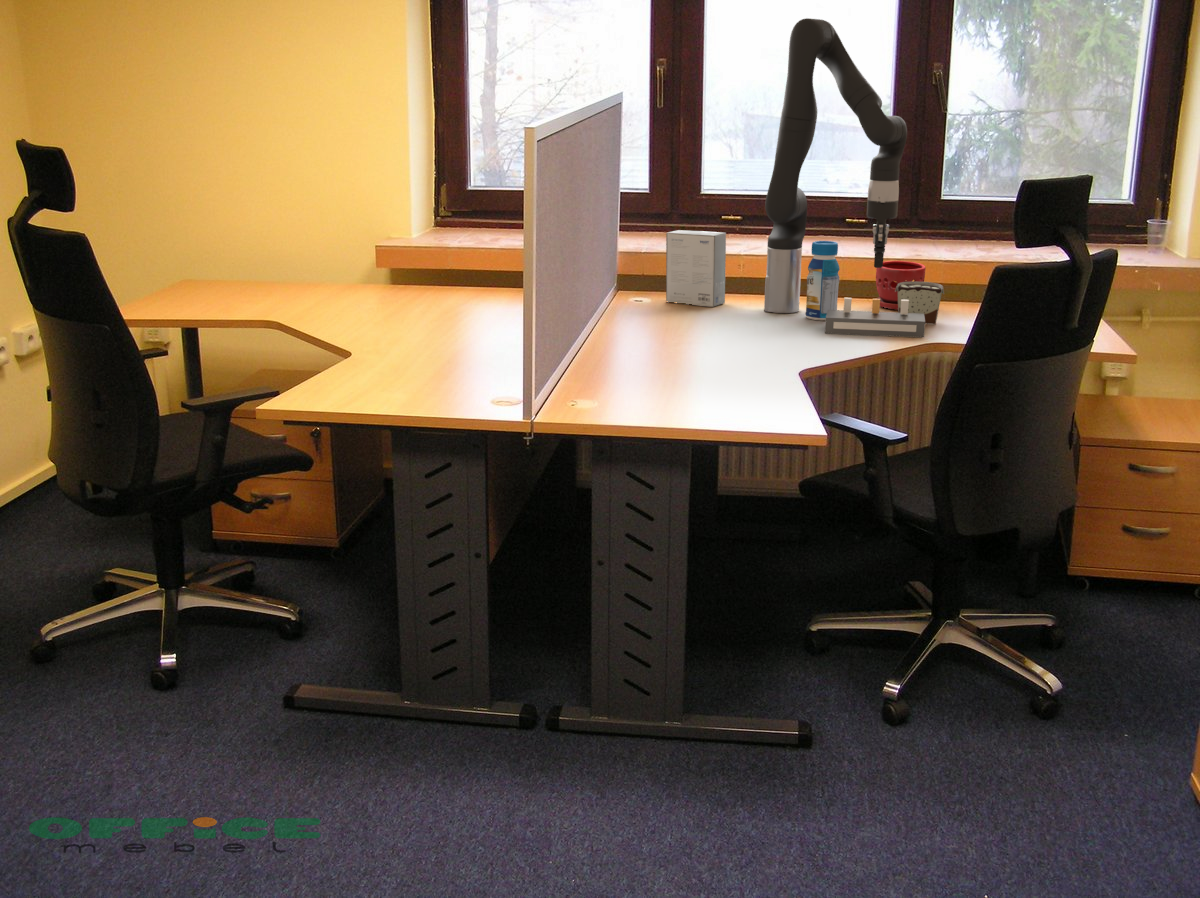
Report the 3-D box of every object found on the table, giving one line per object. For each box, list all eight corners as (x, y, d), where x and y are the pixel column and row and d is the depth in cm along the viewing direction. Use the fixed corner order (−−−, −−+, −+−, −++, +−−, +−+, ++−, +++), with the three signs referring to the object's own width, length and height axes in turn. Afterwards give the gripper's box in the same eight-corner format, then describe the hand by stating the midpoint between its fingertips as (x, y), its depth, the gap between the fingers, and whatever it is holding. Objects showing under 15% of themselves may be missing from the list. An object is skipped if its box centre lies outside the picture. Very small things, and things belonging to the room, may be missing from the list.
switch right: (900, 314, 293) (901, 300, 292) (900, 313, 294) (901, 299, 293) (907, 314, 293) (908, 300, 292) (907, 313, 294) (908, 299, 293)
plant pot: (864, 307, 324) (867, 264, 321) (892, 301, 332) (895, 258, 329) (904, 314, 315) (907, 269, 311) (931, 307, 323) (935, 264, 319)
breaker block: (824, 333, 292) (825, 317, 291) (826, 325, 302) (827, 309, 301) (923, 337, 287) (925, 321, 286) (922, 329, 296) (924, 313, 295)
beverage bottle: (835, 321, 306) (839, 245, 299) (802, 320, 308) (806, 244, 302) (838, 315, 313) (843, 240, 307) (807, 314, 316) (810, 239, 309)
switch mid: (871, 313, 295) (872, 299, 293) (871, 312, 296) (872, 298, 295) (879, 313, 294) (880, 299, 293) (879, 312, 295) (880, 298, 294)
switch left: (843, 312, 296) (844, 298, 295) (843, 311, 297) (844, 297, 296) (850, 312, 296) (851, 298, 295) (850, 311, 297) (851, 297, 296)
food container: (943, 320, 307) (946, 282, 304) (941, 324, 301) (944, 286, 298) (895, 317, 311) (897, 280, 308) (892, 322, 305) (895, 284, 302)
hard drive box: (725, 303, 331) (727, 232, 324) (713, 308, 324) (715, 235, 318) (677, 298, 339) (678, 228, 332) (664, 302, 332) (665, 232, 326)
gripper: (868, 195, 300) (863, 262, 306) (867, 201, 288) (862, 271, 293) (898, 196, 299) (893, 263, 304) (898, 201, 286) (893, 272, 292)
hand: (878, 267), depth 299 cm, fingers closed
